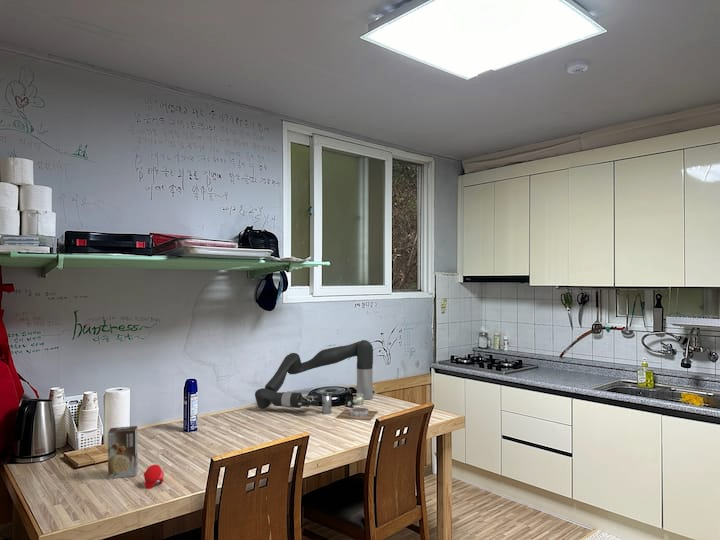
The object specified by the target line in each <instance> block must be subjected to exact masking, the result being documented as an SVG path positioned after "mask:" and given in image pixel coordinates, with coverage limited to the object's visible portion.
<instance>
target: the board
mask: <svg viewBox="0 0 720 540" xmlns="http://www.w3.org/2000/svg"><path fill="white" fill-rule="evenodd" d="M349 410H350V408H349V409H344V410H342V411H341V412H340V413H339V414H338V415H337V416H336V417H335V419H339V420H353V421H354V420H355V421H370V422H371V421H372V419H374V418H375V416H376V415H377V413H379V411H378V410H369V415H368V416H366V417H352V416H350V415H349Z"/></svg>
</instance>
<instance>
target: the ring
mask: <svg viewBox="0 0 720 540" xmlns="http://www.w3.org/2000/svg"><path fill="white" fill-rule="evenodd" d="M369 411H370V410H369V408H366V407H362V406H361V407H357V406H356V407H353V408H351V407H350V408H349V415H350V416H352V417H366V416H368V415H369Z"/></svg>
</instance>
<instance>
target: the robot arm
mask: <svg viewBox="0 0 720 540" xmlns="http://www.w3.org/2000/svg"><path fill="white" fill-rule="evenodd" d="M288 354H289V355H288ZM288 354H287V355H286V356H285V357H284V358H283V360H282V361H281V363H280V365H279V367H278V369H277V370H276V372H275V373H274V375H273V376H272V377H271V378H270V380H269V381H268V382H267V383H266V384H265V385H264V388H263V387H262V388H259V389H256V390H255V392H254V397H255V401H256V405H257V407H258V408H259V409H261V410H263V409H267V408H268V407H270V405H271V404H272V406H275V407H283V408H294V409H299V408H301V407H304V408H305V407H306V408H309V407H312V406H315V407H319V406H320V403H322V396H318V395H311V394H307V395H305V396H303V394H302V393H301V392H289V391H287V392H282V391H281V392H278V391H279V390H280V389H281V387H282V386H283V385H284V381H285V380H286V377H287V374H288V373H289V374H288V375H297V374H301V373H304V372H307V371H309V370H312V369H316V368H320V367H325V366H329V365H334V364H337V363H340V362H342V361H345V360H347V359H349V358H353V357H356V394H357V393H363V398H364V400H367V401H368V400H371V399H373V398H374V397H373V396H374V394H373V393H374V391H373V390H374V385H373V383H374V382H373V380H374V379H373V378H374V377H373V373H374V372H373V366H374V348H373V344H372V343H371V342H370V341H368V340H365V339H362V340H359V341H357V342H354V343H349V344H346V345H340V346H334V347H329V348H325V349H321V350H320V351H318V352H317V353H316V355H314V356H313V357H312V358H310V359H309V360H307V361H304V362H302V359H301V357H300V355H299V354H298V353H297V352H292V353H291V352H290V353H288ZM287 372H288V373H287Z"/></svg>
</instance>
